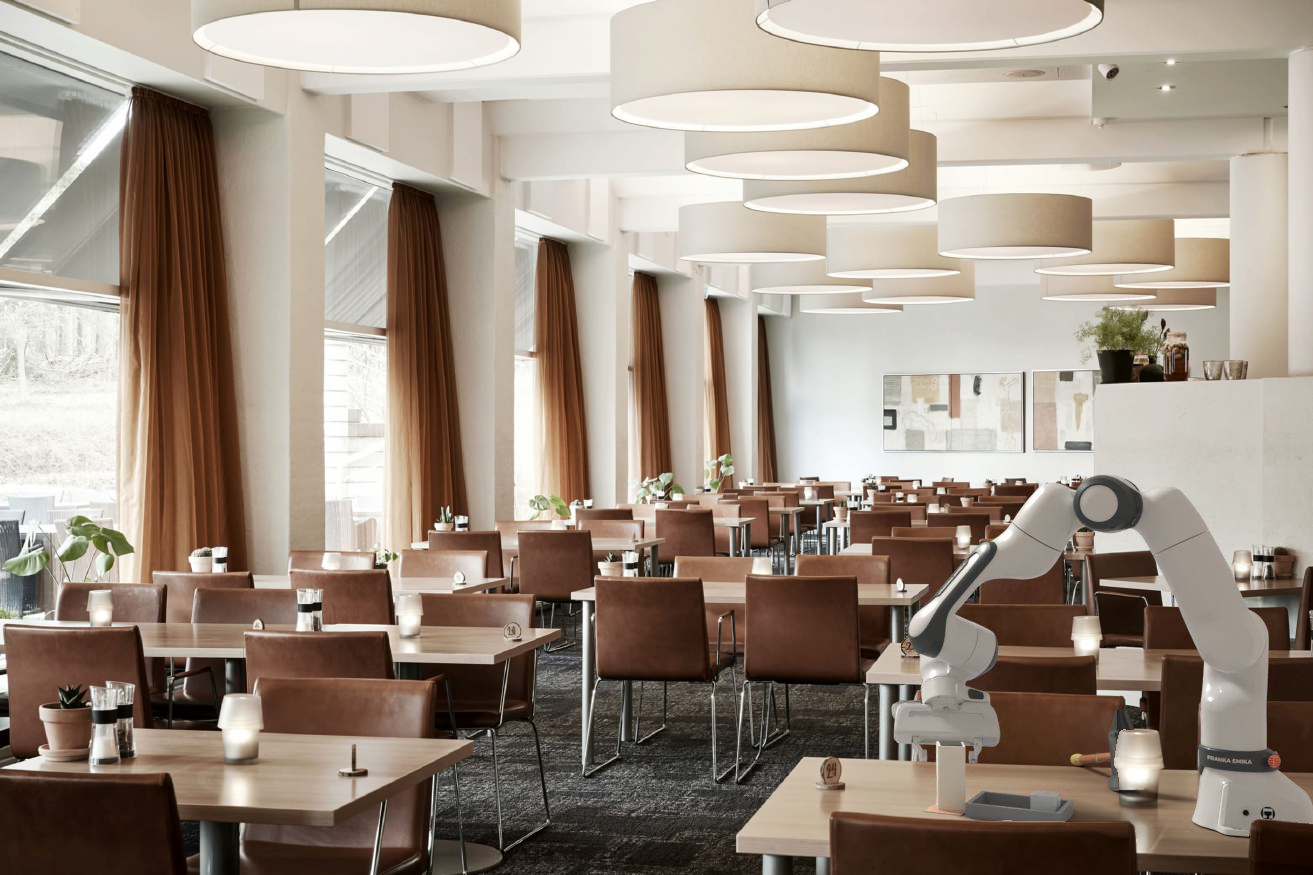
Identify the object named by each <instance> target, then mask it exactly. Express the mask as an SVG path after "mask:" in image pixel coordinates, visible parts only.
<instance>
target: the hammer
mask: <svg viewBox="0 0 1313 875" xmlns="http://www.w3.org/2000/svg"><path fill="white" fill-rule="evenodd" d="M1110 726H1111V727H1110V730H1109V732H1108V734H1107V735H1108V745H1109V752H1104V753H1103V752H1102V753H1101V752H1096V753H1094V754H1092V753H1091V754H1084V755H1083V754H1081V753H1074V754H1073V755H1071V756H1070V762H1071V764H1072V765H1073V766H1076V767H1077V766H1078V767H1079V766H1083V765H1084V764H1090V763H1091V764H1092V763H1099V764H1102V763H1103V762H1110V768H1111V776H1110V777H1107V778H1106V784H1107V788H1108V790H1110V791H1112V792H1116V791H1119V777H1118V772H1117V769H1116V768H1115V766H1114V758H1115V751H1116V744H1117V739H1118V735H1119V732H1120V731H1121V730H1123V729H1126V730H1135V728H1134V725H1133V723H1132V721H1131V718H1130V716H1129V712H1128V710H1127V709H1115V711H1114V714H1113V718H1112V722H1111V725H1110Z"/></svg>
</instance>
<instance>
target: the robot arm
mask: <svg viewBox="0 0 1313 875" xmlns="http://www.w3.org/2000/svg"><path fill="white" fill-rule="evenodd" d="M1006 528H1007V529H1005V530H1004V531H1003V532H1002V533H1001V534H999V535H998V536H997V537H995V538H994V539H993V540H991V541H983V542H982V543H980V544H979V545H977V546H976V548H974V549H973V550H972V551H971V552H970V554H968V556H967V557H966V558H965V559H964V560H963V561H962V562H961V563H960V564H959V566H958V567H957V568H956V569H955V571H954V572H953V573H952V574H950V577H949V578H947V580H946V581H945V582H944V584H943V585H942V586H940V588H939V589H938V590H937V591H936V593H935V594H934V595H933V597H931V599H930V600H928V602H926V603H925V604H924V605H923V606H922V607H920V608H919V609H917V611H916V612H915V613H914V614H913V616H912V617H911V619H910V621H909V623H908V627H907V635H908V639H909V641H910V645H911V646H912V648H913V651H914V652H915V653H917V654H919V674H920V677H921V680H922V682H921V686H920V693H921V700H914V699H913V700H905V699H900V700H898V701H897V702H895V703H893V704H892V706H891V716H892V717H893V719H894V725H893V726H894V728H893V739H894V741H896V743H898V744H900V745H901V744H903V745H904V744H905V745H907V744H908V745H910V744H911V745H912V749H913V750H914V752H915V753H916V754H917V755H918V762H919V763H920V762H921V763H923V762H925V763H927V762H928V750H927V749H923V748H922V747H921V745H931V746H932V745H935V746H936V741H960V742H963V743H964V745H965V747H966V746H969V747H973V749H974V750H969V751H968V763H969V764H972V765H973V764H974V765H975V764H978V756H979V754H980V753H981V751H982V749H983V748H982V747H996V746H997V745H998V744H999V743H1000V738H1001V731H1000V722H999V718H998V715H997V713H996V710H995V708H994V707H993V706H992V705H991V696H990V694H989V693H988V692H987V691H984V690H981V689H980V690H979V689H977V688H973V687H971V686H967V685H966V682H968V681H973V680H975V679H977V678H979V677H980V676H983V675H985V674H986V673H988V672H990V670H991V669H993V668H994V667H995V664H996V663H997V660H998V656H999V642H998V639H997V635H996V634H995V632H994V631H992V630H991V629H988V628H986V627H985V626H982V625H980V624H978V623H976V622H974V621H971V620H969V619H966V618H964V617H961V616H959V615H957V614H956V613H957V612H958V610H960V609H961V607H962V606H963V605H964V603H965V602H966V601H967V600H968V599H969V598H970V596H971V595H972V594H973V593H974V592H975V591H976V589H977V588H978V587H979V586H980V585H982V584H984V583H986V582H988V581H991V580H998V579H1012V580H1013V579H1014V580H1029V579H1030V580H1031V579H1035V578H1039V577H1042V576H1043V575H1046V574H1047V573H1048V572H1049V571H1050V570H1052V568H1053V567H1054V565H1055V564H1056V563H1057V562H1058V559H1059V558H1060V557H1061V555H1062V554H1063V552H1064V551H1065V548H1066V546H1067V545H1068V544H1069V542H1070V540H1071V539H1072V538H1073V536H1074V535H1075V534H1076V533H1077V532H1078V531H1079V530H1080V529H1082V528H1087V529H1089V530H1091V531H1094V532H1099V533H1103V534H1116V533H1120V532H1122V531H1126V530H1129V529H1131V530H1134V531H1136V532H1137V533H1138V534H1139V535H1140V536H1141V537H1142V539H1143V540H1144V541H1145V543H1146V545H1147V547H1148V549H1149V551H1150V553H1151V554H1152V556H1153V559H1154V560H1155V562H1156V564H1157V566H1158V569H1160V573H1162V575H1163V577H1164V579H1165V581H1166V584H1167V585H1168V587H1169V589H1170V590H1171V593H1172V594H1173V596H1174V599H1175V601H1176V604H1177V606H1178V609H1179V611H1180V614H1181V616H1182V618H1183V621H1184V623H1185V626H1186V628H1187V630H1188V632H1189V635H1190V636H1191V639H1192V641H1193V643H1194V645H1195V647H1196V649H1197V651H1198V654H1199V655H1200V658H1201V660H1203V676H1202V690H1201V698H1200V728H1201V729H1200V743H1199V744H1198V750H1197V770H1198V774H1199V775H1200V776H1199V785H1198V786H1199V787H1198V794H1197V800H1196V805H1195V809H1194V812H1193V816H1192V818H1191V821H1192V822H1193V823H1194V824H1196V825H1198V826H1200V827H1202V828H1203V827H1204V828H1207V829H1211V830H1214V831H1217V832H1218V833H1220V834H1224V835H1227V836H1239V837H1249V830H1250V825H1251V823H1252V821H1254V820H1256V819H1270V820H1281V821H1292V822H1298V823H1309V824H1313V803H1312V799H1311V798H1310V796H1309V795H1308V793H1307V792H1306V791H1305V790H1304V789H1303V788H1301V786H1299V785H1297V784H1296V783H1295V782H1294V781H1293V780H1291V779H1290V778H1288V776H1286V775H1285V774H1284V773H1282V772H1281V771H1280V770H1279V769H1280V765H1281V758H1280V755H1279V754H1278V753H1279V752H1277V751H1276V750H1275V751H1273V750H1272V749H1270V748H1269V747H1267V743H1268V742H1267V739H1268V738H1267V735H1268V734H1267V730H1268V728H1267V725H1268V724H1267V723H1268V722H1267V700H1268V699H1267V698H1268V697H1267V696H1268V678H1269V675H1268V674H1269V647H1270V646H1269V644H1270V643H1269V640H1270V638H1269V630H1268V628H1267V626H1266V623H1265V621H1264V620H1263V618H1262V617H1261V616H1260V615H1259V614H1257V613H1256V612H1255V611H1252V610H1250V609H1249V608H1248V605H1247V603H1246V601H1245V599H1244V597H1243V595H1242V593H1241V590H1240V588H1239V586H1238V584H1237V581H1236V579H1235V578H1234V575H1233V571H1232V569H1231V567H1230V566H1229V564H1228V562H1227V561H1226V558H1225V556H1224V554H1223V553H1222V551H1221V549H1220V547H1219V545H1218V544H1217V541H1216V540H1215V539H1214V537H1213V534H1212V533H1211V531H1210V529H1209V527H1208V526H1207V524H1206V522H1205V521H1204V519H1203V517H1202V515H1201V514H1200V513H1199V511H1198V509H1197V508H1196V507H1195V506H1194V504H1193V503H1192V502H1191V501H1190V500H1189V498H1188V497H1187V496H1186V494H1184V492H1183V491H1181V489H1179V488H1177V487H1175V486H1159V487H1155V488H1153V489H1151V490H1149V491H1145V492H1143V491H1141V490H1140V489H1139V487H1138V486H1137V485H1136V484H1134V483H1133V482H1132V481H1130V480H1129V479H1126V478H1124V477H1121V476H1119V475H1116V474H1097V475H1093V476H1090V477H1089V478H1086V479H1085V480H1084V481H1082V482H1081V483H1080V485H1079V486H1078V487H1077V488H1076V489H1073V488H1070V487H1068V486H1066V485H1064V484H1062V483H1058V482H1057V483H1056V482H1046V483H1044V484H1042V485H1040V486H1039V487H1038V488H1037V489H1036V490H1035V491H1034V492H1033V493H1032V495H1030V497H1028V499H1027V500H1026V502H1024V504H1023V506H1022V507H1021V508H1020V510H1019V511H1018V512H1017V513H1016V515H1015V517H1014V519H1013V520H1012V521H1011V522H1010V524H1009V526H1008V527H1006Z"/></svg>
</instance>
